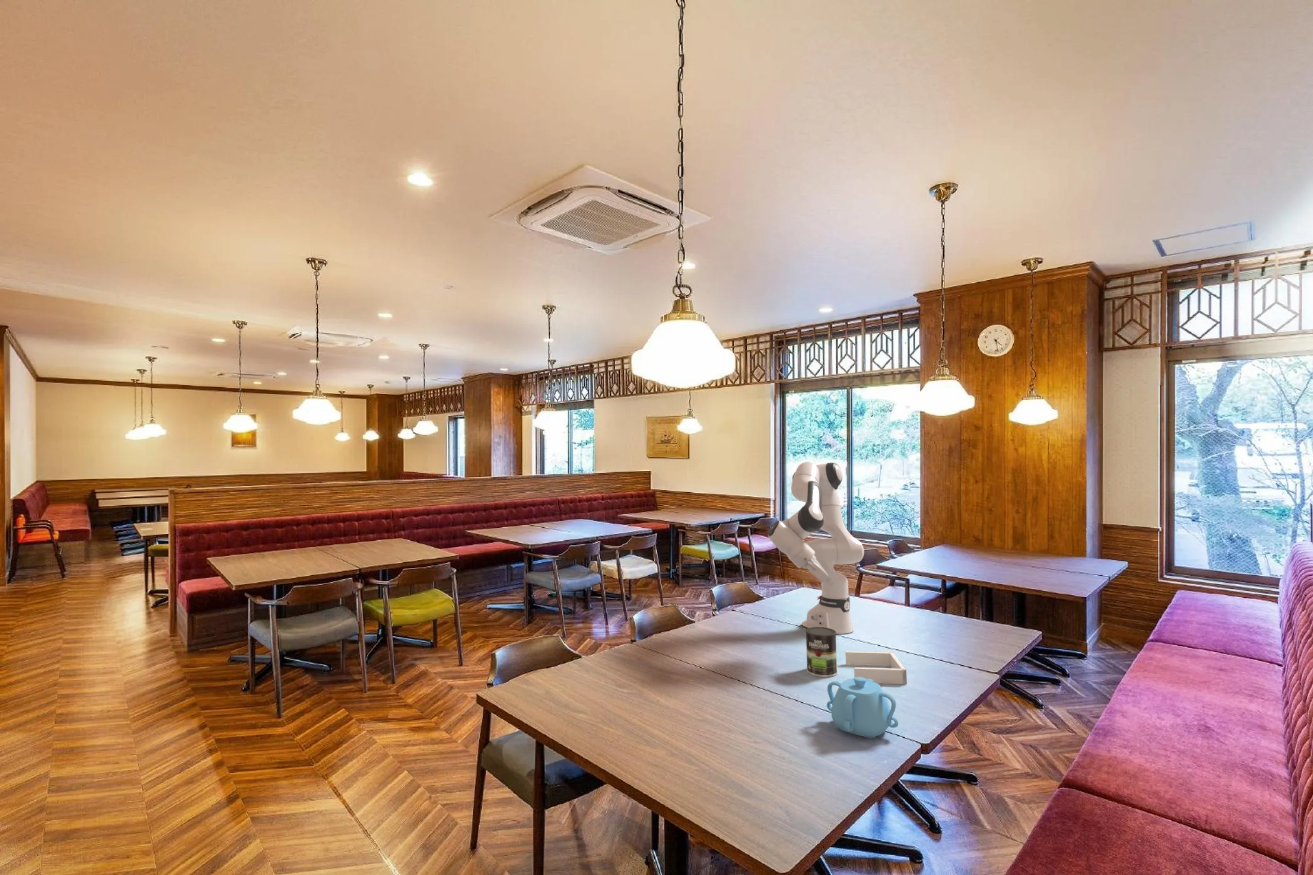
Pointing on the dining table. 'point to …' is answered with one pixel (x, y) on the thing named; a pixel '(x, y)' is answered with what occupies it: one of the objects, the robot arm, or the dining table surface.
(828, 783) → the dining table surface
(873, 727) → the decorative pot
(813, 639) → the coffee can
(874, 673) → the box
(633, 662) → the dining table surface
